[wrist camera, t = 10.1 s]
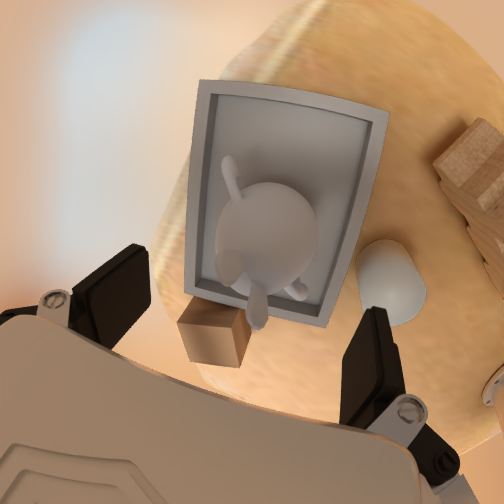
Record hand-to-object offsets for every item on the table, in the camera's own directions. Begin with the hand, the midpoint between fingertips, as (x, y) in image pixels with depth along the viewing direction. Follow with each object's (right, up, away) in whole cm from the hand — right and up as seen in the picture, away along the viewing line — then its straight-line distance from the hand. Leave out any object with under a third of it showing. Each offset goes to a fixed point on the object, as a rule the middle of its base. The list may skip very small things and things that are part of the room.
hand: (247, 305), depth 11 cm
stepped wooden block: (+21, +5, +7) cm, 23 cm away
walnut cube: (-3, -4, +17) cm, 18 cm away
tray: (+2, +6, +11) cm, 12 cm away
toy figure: (+2, +5, +10) cm, 12 cm away
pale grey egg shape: (+11, +1, +11) cm, 16 cm away
